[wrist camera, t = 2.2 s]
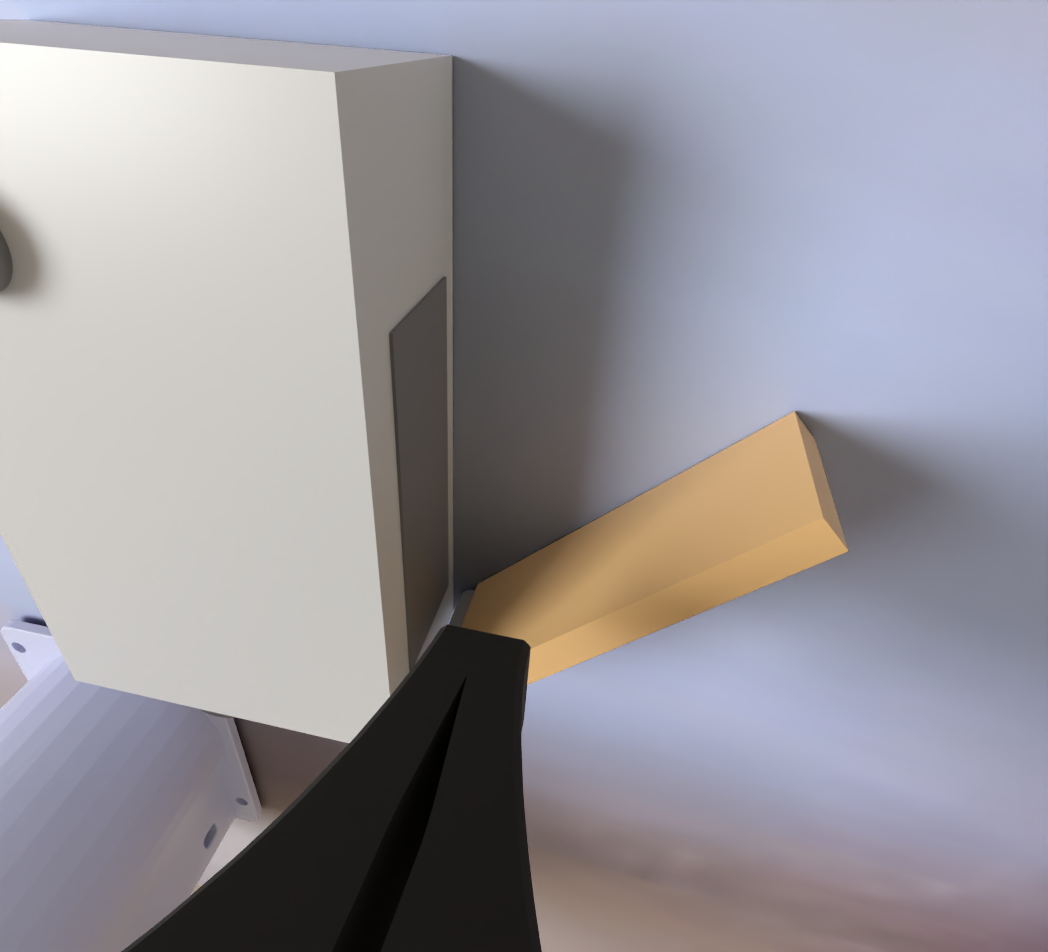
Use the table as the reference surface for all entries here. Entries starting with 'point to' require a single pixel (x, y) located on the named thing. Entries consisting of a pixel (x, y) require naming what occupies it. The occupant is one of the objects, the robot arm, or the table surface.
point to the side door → (667, 553)
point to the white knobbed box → (228, 363)
